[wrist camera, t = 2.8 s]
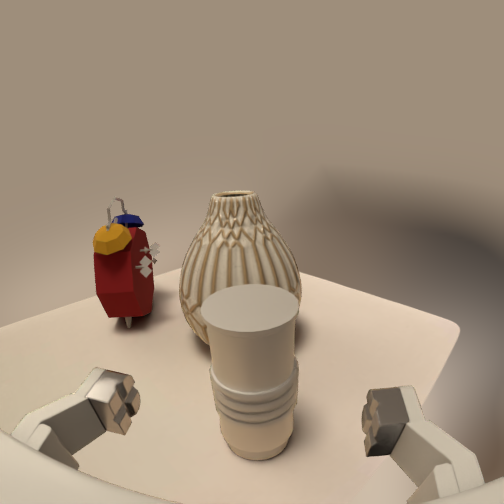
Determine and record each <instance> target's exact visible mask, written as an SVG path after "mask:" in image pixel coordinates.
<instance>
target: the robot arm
mask: <svg viewBox="0 0 504 504" xmlns="http://www.w3.org/2000/svg"><path fill="white" fill-rule="evenodd" d="M134 383H135V382H134V380H133V377H132V376H131V375H128V374H123V373H119V372H115V371H110V370H106V369H101V368H94V369H93V370H92V371H91V372H90V374H89V375H88V376H87V378H86V379H85V380H84V382H83V383H82V384H81V386H80V387H79V388H78V390H77V391H76V392H75V394H72V393H71V394H69V395H66V396H64V397H62V398H60V399H58V400H56V401H54V402H51V403H49V404H47V405H45V406H43V407H41V408H38V409H36V410H34V411H32V412H30V413H27V414H26V415H25V416H24V417H23V418H22V420H21V421H20V422H19V424H18V425H17V426H16V427H15V429H14V430H13V431H12V433H11V434H8V433H6V432H5V431H3V430H2V429H0V504H182V503H178V502H174V501H169V500H165V499H161V498H157V497H154V496H150V495H146V494H143V493H140V492H136V491H133V490H130V489H127V488H124V487H121V486H118V485H115V484H112V483H109V482H106V481H104V480H101V479H98V478H96V477H93V476H91V475H88V474H86V473H84V472H81V471H79V470H78V468H79V464H78V462H77V461H76V460H75V459H74V457H73V456H72V455H73V454H75V453H76V452H77V451H79V450H80V449H82V448H83V447H85V446H86V445H88V444H89V443H91V442H92V441H93V440H95V439H96V438H98V437H99V436H101V435H102V434H103V433H105V432H106V431H110V432H114V433H117V434H121V435H126V433H127V431H128V429H129V427H130V425H131V423H132V421H131V417H132V416H134V415H136V414H137V412H138V410H139V407H140V395H139V392H138V390H136V389H135V388H134V387H133V385H134ZM367 402H368V403H367V404H366V405H364V408H363V412H362V430H363V432H364V433H365V434H366V438H365V440H364V445H365V452H366V457H370V456H382V455H390V456H391V458H392V459H393V460H394V461H395V462H396V463H397V464H398V465H399V467H400V468H401V469H402V470H403V471H404V472H405V473H406V474H407V476H408V477H409V478H410V479H411V480H412V481H413V482H414V483H415V484H416V485H417V486H418V489H417V490H416V491H415V492H414V493H413V495H412V496H411V497H410V498H409V499H408V500H407V504H504V476H503V477H501V478H499V479H496V480H494V481H491V482H488V483H486V484H485V482H484V479H483V476H482V473H481V470H480V467H479V464H478V461H477V458H476V455H475V454H474V453H472V452H471V451H470V450H469V449H467V448H466V447H465V446H463V445H462V444H460V443H459V442H458V441H457V440H455V439H454V438H453V437H451V436H450V435H449V434H447V433H446V432H445V431H443V430H442V429H441V428H439V427H438V426H437V425H436V424H434V423H433V422H432V421H430V420H425V417H424V414H423V412H422V408H421V405H420V403H419V400H418V397H417V394H416V391H415V389H414V387H413V386H412V385H410V386H401V387H391V388H380V389H370V390H369V391H368V394H367Z"/></svg>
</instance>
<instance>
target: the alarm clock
mask: <svg viewBox="0 0 504 504" xmlns="http://www.w3.org/2000/svg"><path fill="white" fill-rule="evenodd" d="M115 199H116V200H118V201H121V205H122V211H123V212H124V213H125V214H124V215H120V216H116V217H115V218H114V220H113V221H112V223H111V216H110V207H111V206H112V204H113V202H114V200H115ZM107 213H108V225H105V226H102V227H101V228H100V229H99V230H98V231H97V233H96V234H95V236H94V240H93V247H94V269H95V283H96V294H97V296H98V298H99V300H100V302H101V304H102V306H103V308H104V310H105V311H106V313H107V315H108V317H109V318H112V317H125V320H126V324H127V327H128V328H130V327H131V321H132V317H135V316H145V315H146V314H148V313H150V312H152V302H153V293H154V280H153V268H152V262H153V263H154V264H155V263H156V261H157V260H156V259H155V258H153V260H152V256H155V255H157V254H158V253H159V251H158V250H157V248H158V247H160V245H159V244H157V243H154V244H153V245H151V246H150V247H151V248H152V249H149V245H148V241H147V237H146V233H145V232H144V231H143V230H141V229H139V228H138V227H142V226H143V225H144V224H143V222H142V221H141V219H140V218H139V216H135V215H131V214H127V210H124V203H123V200H122V199H120V198H117V197H114V198H113V200H112V202H111V203H110V205H109V207H108V209H107ZM110 223H111V224H110ZM150 251H151V252H150ZM151 255H152V256H151Z"/></svg>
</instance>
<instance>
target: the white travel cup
mask: <svg viewBox="0 0 504 504" xmlns="http://www.w3.org/2000/svg"><path fill="white" fill-rule="evenodd" d="M298 313H299V302H298V300H297V298H296V297H295V296H294V295H293V294H292V293H290V292H289V291H287V290H284V289H282V288H280V287H275V286H271V285H263V284H245V285H237V286H232V287H228V288H225V289H222V290H220V291H217V292H215V293H213V294H212V295H210V296H209V297H208V298H207V299H206V300H205V301H204V302H203V304H202V306H201V316H202V320H203V321H204V323H205V324H206V325H207V331H208V338H209V344H210V351H211V358H212V362H211V366H210V369H209V371H210V378H211V383H212V390H213V395H214V401H215V406H216V410H217V412H218V414H219V415H220V428H221V433H222V435H223V437H224V439H225V440H226V441H227V442H228V445H229V447H230V448H231V450H232V451H233V452H234V453H235V454H236V455H238V456H240V457H242V458H245V459H249V460H265V459H269V458H271V457H274V456H276V455H277V454H279V453H280V452H281V451H282V450H283V449H284V448H285V447H286V445H287V442H288V438H289V437H290V436H291V434H292V431H293V428H294V423H293V411H294V408H295V405H296V404H297V393H298V375H299V366H298V361H297V359H296V357H295V356H294V340H295V320H296V318H297V316H298Z"/></svg>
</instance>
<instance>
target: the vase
mask: <svg viewBox="0 0 504 504" xmlns="http://www.w3.org/2000/svg"><path fill="white" fill-rule="evenodd" d="M245 284H263V285H271V286H275V287H280V288H282V289H284V290H287V291H289V292H290V293H292V294H293V295H294V296H295V297H296V298H297V300H298V302H299V307H300V302H301V294H302V286H301V279H300V275H299V271H298V267H297V264H296V262H295V259H294V257H293V254H292V252H291V250H290V248H289V247H288V245H287V243H286V242H285V240H284V239H283V237H282V236H281V234H280V233H279V232H278V231H277V229H276V228H275V227H274V226H273V224H272V223H271V222H270V221H269V220H268V218H267V217H266V215H265V213H264V211H263V209H262V206H261V203H260V201H259V198H258V195H257V193H255V192H253V191H227V192H221V193H217V194H214V195H212V197H211V200H210V204H209V209H208V213H207V216H206V219H205V221H204V223H203V225H202V226H201V228H200V230H199V231H198V233H197V234H196V236H195V238H194V239H193V241H192V243H191V245H190V248H189V250H188V251H187V254H186V256H185V259H184V262H183V266H182V270H181V276H180V284H179V298H180V303H181V307H182V310H183V313H184V316H185V318H186V320H187V322H188V324H189V325H190V327H191V328H192V330H193V331H194V332H195V334H196V335H197V336H198V337H199V338H200V339H201V340H202V341H204V342H205V343H206V344H208V345H210V344H209V338H208V331H207V325H206V324H205V323H204V321H203V320H202V316H201V306H202V304H203V302H204V301H205V300H206V299H207V298H208V297H209V296H210V295H212V294H213V293H215V292H217V291H220V290H222V289H225V288H228V287H232V286H237V285H245Z"/></svg>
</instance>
